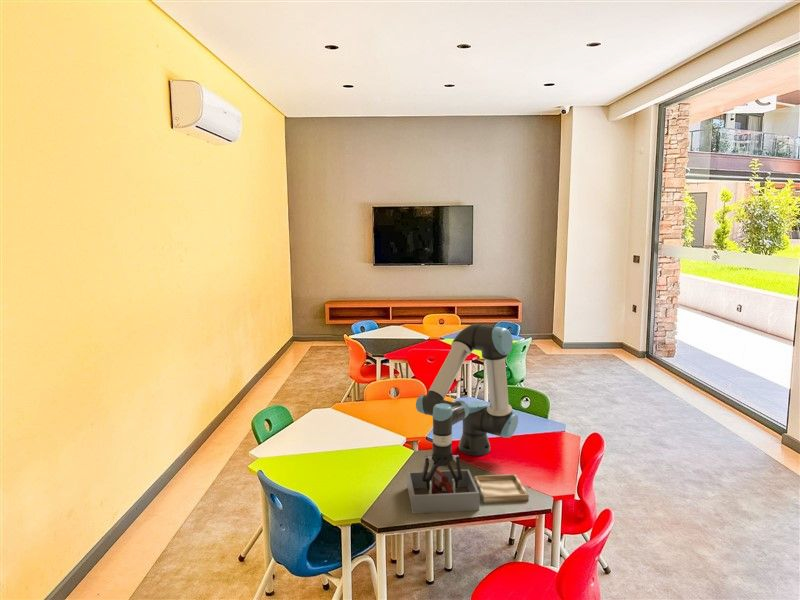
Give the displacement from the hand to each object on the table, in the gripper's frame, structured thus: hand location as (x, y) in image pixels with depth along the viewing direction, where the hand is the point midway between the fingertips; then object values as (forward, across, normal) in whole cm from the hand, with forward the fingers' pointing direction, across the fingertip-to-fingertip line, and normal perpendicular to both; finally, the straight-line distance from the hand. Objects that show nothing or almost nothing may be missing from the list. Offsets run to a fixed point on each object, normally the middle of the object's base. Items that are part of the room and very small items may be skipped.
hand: (441, 496), depth 221 cm
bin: (+1, 0, 0) cm, 1 cm away
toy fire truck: (+1, 0, 0) cm, 1 cm away
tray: (+1, +25, +4) cm, 25 cm away
